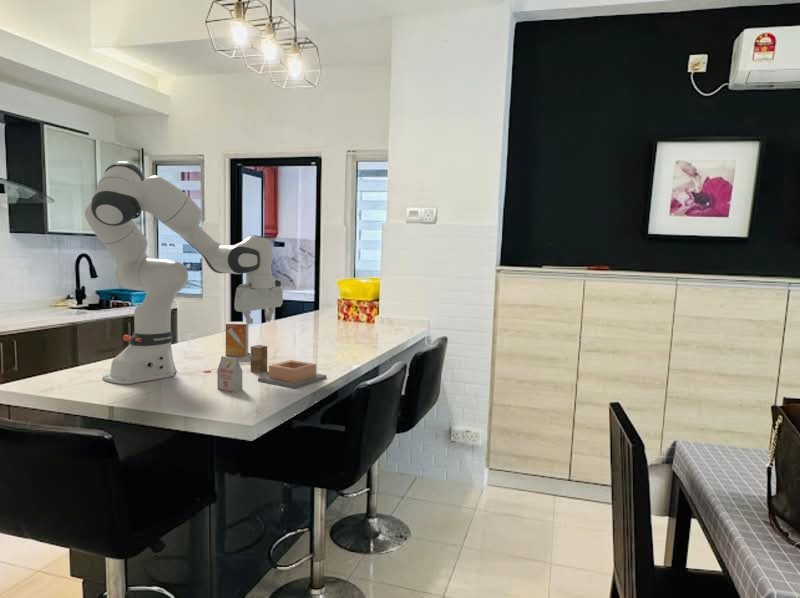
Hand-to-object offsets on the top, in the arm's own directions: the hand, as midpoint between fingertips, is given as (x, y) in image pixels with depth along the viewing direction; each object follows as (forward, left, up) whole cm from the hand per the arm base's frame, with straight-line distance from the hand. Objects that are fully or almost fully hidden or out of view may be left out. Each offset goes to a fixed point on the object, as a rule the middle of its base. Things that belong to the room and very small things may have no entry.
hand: (259, 321), depth 183 cm
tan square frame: (-2, -17, -18) cm, 24 cm away
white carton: (-22, -9, -18) cm, 30 cm away
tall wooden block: (0, 0, -18) cm, 18 cm away
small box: (+16, +27, -18) cm, 36 cm away
